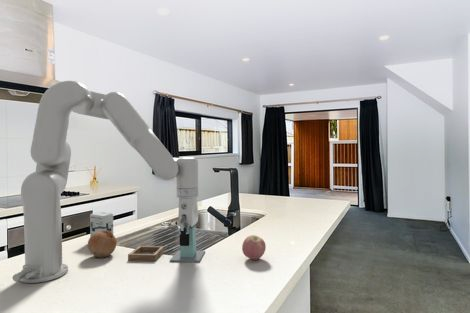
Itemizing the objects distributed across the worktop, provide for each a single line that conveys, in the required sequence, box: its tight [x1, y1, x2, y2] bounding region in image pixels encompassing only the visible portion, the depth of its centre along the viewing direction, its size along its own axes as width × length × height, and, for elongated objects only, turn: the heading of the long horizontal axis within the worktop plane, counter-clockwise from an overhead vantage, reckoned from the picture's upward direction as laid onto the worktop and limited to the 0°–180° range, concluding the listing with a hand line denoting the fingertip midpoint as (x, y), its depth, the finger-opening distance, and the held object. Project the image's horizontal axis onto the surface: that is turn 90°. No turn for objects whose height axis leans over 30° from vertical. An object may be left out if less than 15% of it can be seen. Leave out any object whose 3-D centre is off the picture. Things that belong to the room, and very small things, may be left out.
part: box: [179, 225, 197, 258], centre depth 106 cm, size 4×4×10 cm
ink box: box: [89, 211, 114, 238], centre depth 124 cm, size 9×5×12 cm, turn 62°
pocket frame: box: [127, 245, 165, 262], centre depth 107 cm, size 10×10×2 cm
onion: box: [87, 230, 117, 259], centre depth 108 cm, size 10×9×10 cm
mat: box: [169, 249, 206, 263], centre depth 106 cm, size 10×10×1 cm
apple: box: [241, 234, 267, 261], centre depth 103 cm, size 8×8×8 cm
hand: (188, 241), depth 106 cm, fingers open, 9 cm apart
